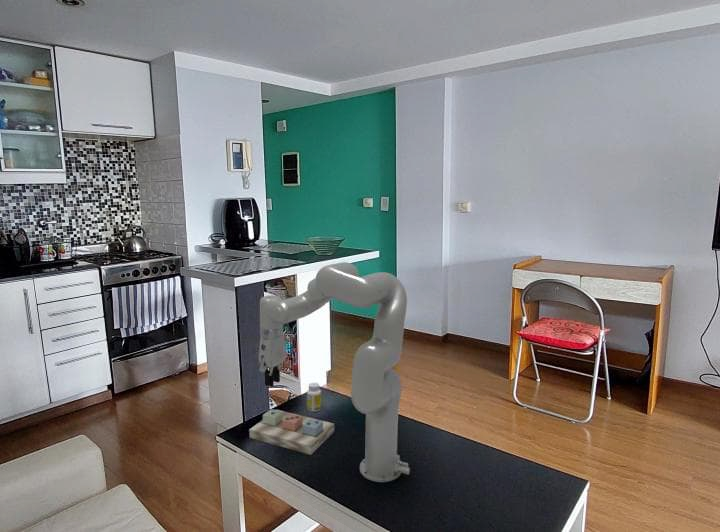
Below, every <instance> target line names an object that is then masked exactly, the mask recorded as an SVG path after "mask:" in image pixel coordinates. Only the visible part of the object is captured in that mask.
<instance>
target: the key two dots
mask: <svg viewBox="0 0 720 532" xmlns="http://www.w3.org/2000/svg"><path fill="white" fill-rule="evenodd" d="M314 419H315V418H313V419H309V420H308V421H307V422H305V423H304V424H303V425H302V433H303V434H307V435H310V436H314V437H316V436H317V435H318V434H319V433H320V432H321V431H322V430H323V422H322V421H323V420H321V421H318V420H319V419H317V420H314Z"/></svg>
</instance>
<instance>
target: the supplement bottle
mask: <svg viewBox="0 0 720 532" xmlns="http://www.w3.org/2000/svg"><path fill="white" fill-rule="evenodd" d="M306 408H307V410H308V411H309V412H314V413H315V412H318V411H320V410H321V409H322V390H321V389H320V384H319V383H318V382H311V383H309V384H308V390H307V391H306Z"/></svg>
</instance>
